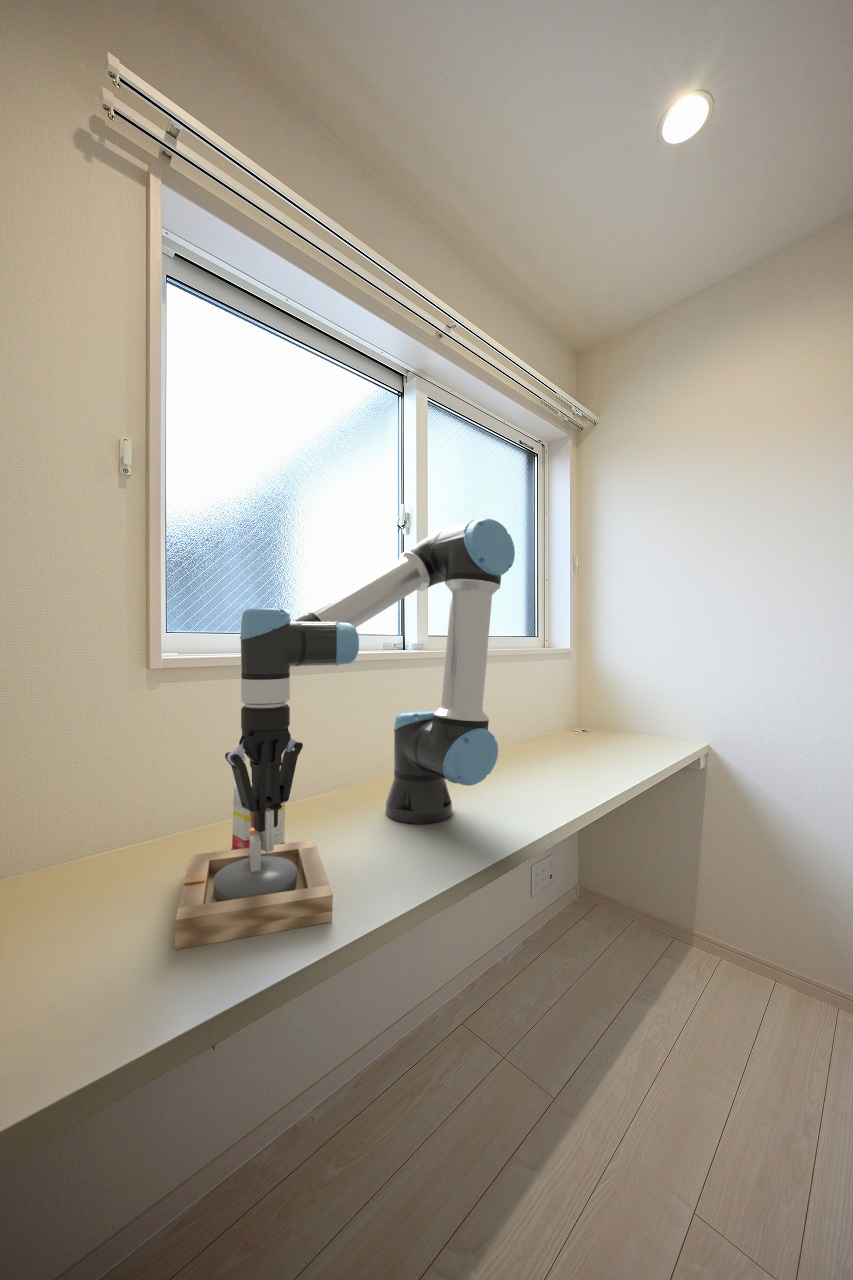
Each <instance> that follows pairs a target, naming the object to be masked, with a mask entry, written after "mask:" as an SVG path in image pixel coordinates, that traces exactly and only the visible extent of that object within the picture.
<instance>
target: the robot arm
mask: <svg viewBox="0 0 853 1280" xmlns="http://www.w3.org/2000/svg"><path fill="white" fill-rule="evenodd" d="M515 554H516V550H515V544H514V541H513V538H512V535H511V534H510V533H509V532H508V529H507V528H506V527H505V526H504V525H503V524H502V523H500V522H499V521H497V520H495V519H492V518H482V519H473V520H471V521H468V522H465V523H461V524H458V525H453V526H450V527H446V528H443V529H440V530H438V531H435V532H434V533H432V534H431V535H429V536H427V537H426V538H424V539H423V540H421V541H419V542H418V543H417V544H415V545H413V546H412V547H410V548H408V549H407V550H405V551H403V552H402V553H401V554H400V556H399V559H398V560H397V561H395V562H394V563H392V564H390V565H389V566H386V567H385V568H383V569H382V570H380V571H378V572H376V573H375V574H373V575H371V576H369V577H368V578H366V579H364V580H362V581H361V582H359V583H357V584H356V585H354V586H352V587H349V589H346V590H345V591H344V592H342V593H340V594H338V595H336V596H335V597H333V598H331V599H329V600H328V601H326V602H324V603H323V604H321V605H319V606H318V607H316V608H314V609H313V610H311V611H309V612H308V613H305V614H303V615H302V616H300V617H298V618H297V619H295V620H292V619H291V616H290V615H291V614H290V612H289V610H287V609H285V608H266V607H265V608H262V607H261V608H248V609H246V610H245V611H244V612H243V613H242V615H241V625H240V636H239V640H240V661H241V662H240V664H241V665H240V667H241V668H240V669H241V677H240V681H241V682H240V702H241V703H242V704H244V705H243V706H242V707H241V708H240V729H241V736H240V739H239V740H238V741H239V742H238V746H237V747H236V748H235V749H234V750H233V751H232V752H230V751H228V752H226V753H225V755H224V758H225V760H226V762H228V764H229V765H230V767H231V769H232V775H233V777H234V781H235V784H236V785H235V786H237V790H238V793H239V797H240V801H241V805H242V807H243V808H245V809H247V810H249V811H252V812H254V829H255V830H256V831H258V832H259V835H260V840H261V850H263V851H265V852H267V853H268V852H271V851H273V850H274V828H275V827H277V825H278V810H279V809H281V807H282V805H280V804H281V803H283V802H285V803H287V802H288V801H289V800H290V794H291V790H292V787H293V785H292V784H293V782H294V781H293V780H294V776H295V773H296V772H295V771H296V767H297V762H298V758H299V755H300V753H301V751H302V749H303V748H304V747H303V746H304V744H303V743H302V742H300V741H297V740H295V739H293V738H292V737H291V736H292V735H291V732H290V730H289V727H290V724H291V723H290V722H291V707H290V705H289V704H287V703H288V702H290V700H291V683H290V682H291V681H290V679H291V678H290V677H291V673H290V671H291V667H300V666H303V667H305V666H312V667H313V666H335V667H337V666H338V667H339V666H340V665H341V666H342V665H350V664H352V663H353V662H354V661H355V660H356V658H357V656H358V654H359V650H360V638H359V633H358V630H357V629H356V628H358V627H359V626H361V625H363V624H364V623H365V622H367V621H368V620H370V619H372V618H374V617H375V616H377V615H378V614H380V613H381V612H383V611H385V610H386V609H388V608H390V607H391V606H393V605H394V604H396V603H398V602H399V601H401V600H402V599H404V598H406V597H407V596H409V595H411V594H412V593H414V592H415V591H418V592H423V591H426V590H428V588H431V587H432V586H434V585H438V584H441V583H443V582H444V584H445V586H446V587H447V588H448V590H450V592H451V595H450V606H449V616H448V627H447V629H448V630H447V637H446V647H445V648H446V649H445V660H444V670H443V681H442V683H443V684H442V691H441V704H440V706H439V707H438V708H436V710H426V711H425V710H423V711H409V712H402V713H399V714H398V715H396V716H395V720H394V729H393V732H394V739H393V740H394V742H393V743H394V744H393V745H394V747H393V748H394V749H393V750H394V753H393V754H394V758H393V759H394V760H393V771H394V772H393V781H392V784H391V785H390V786H391V787H390V790H389V792H388V795H387V798H386V800H385V801H386V803H385V813H386V815H387V817H389V818H391V819H392V820H395V821H397V822H400V823H409V824H419V825H420V824H432V823H439V822H442V821H444V820H446V819H448V818H450V817H451V816H452V814H453V804H452V803H453V802H452V799H451V795H450V792H449V789H448V786H447V782H446V780H447V781H448V782H450V783H452V784H456V785H457V784H458V785H462V786H465V787H466V786H470V787H471V786H474V785H478V784H480V783H481V782H483V781H484V780H486V778H487V776H488V775H490V774H491V773H492V772H493V769H494V768H495V765H496V763H497V759H498V757H499V745H498V741H497V740H496V739H495V735H494V734H493V733H492V732H490V730H489V722H490V719H489V716H488V715H487V714H486V713H485V711H484V710H483V707H484V696H485V695H484V694H485V693H484V692H485V683H486V671H487V660H488V659H487V658H488V649H489V648H488V647H489V638H490V624H491V612H492V600H493V596H494V595H495V593H496V592H497V591H498V590H499V589H500V588H501V582H502V576H503V575H504V574H506V573H507V572H508V571H510V569H511V568H512V567H513V564H514V561H515V556H516V555H515ZM245 755H246V756H245ZM246 757H247V758H248V760H249V766H250V768H251V778H250V775H249V771H248V767H247V764H246V762H245V761H246ZM250 782H252V786H251V783H250Z"/></svg>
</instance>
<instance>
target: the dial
mask: <svg viewBox="0 0 853 1280" xmlns="http://www.w3.org/2000/svg"><path fill="white" fill-rule="evenodd" d="M296 883H297V868H296V865H295V864H294V863H293V862H292V861H290V860H287V859H285V858H281V857H274V856H261V840H260V835H259V832H258V831H256V830H255V829H254V828H250V849H249V858H247V859H243V860H239V861H236V862H233V863H231V864H229V865H227V866H225V867H223V868H222V869H221V870H219V871H218V872H217V873H216V875H215V877H214V884H213V894H214V898H215V899H216V900H217V901H218V902H221V901H228V900H234V899H241V898H247V897H254V896H260V895H267V894H273V893H280V892H286V891H293V890H294V888H295V887H296Z"/></svg>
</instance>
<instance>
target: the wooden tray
mask: <svg viewBox="0 0 853 1280" xmlns="http://www.w3.org/2000/svg"><path fill="white" fill-rule="evenodd" d="M249 849H250V848H245V849H236V850H235V849H231V850H230V849H228V850H221V851H214V852H212V851H211V852H204V853H196V854H190V857H189V861H188V864H187V868H186V873H185V877H184V881H183V882H184V883H183V886H182V889H181V890H182V891H181V894H180V898H179V902H178V903H179V904H178V907H177V911H176V915H175V920H174V951H176V950H183V949H186V948H188V949H189V948H193V947H199V946H204V945H209V944H214V943H215V944H216V943H220V942H221V943H222V942H227V941H232V940H237V939H244V938H248V937H254V936H259V935H260V936H261V935H265V934H271V933H272V934H273V933H276V932H282V931H288V930H289V931H290V930H293V929H295V930H296V929H298V928H306V927H310V926H317V925H321V924H328V923H332V922H333V913H334V912H333V910H334V909H333V906H334V905H333V901H334V898H333V897H334V896H333V892H332V888H331V885H330V882H329V880H328V879H329V878H328V877H327V874H326V872H325V871H326V870H325V868H324V865H323V862H322V860H321V859H322V858H321V856H320V853H319V851H318V848H317V844H316V842H315V839H312V840H305V841H302V840H301V841H295V842H287V843H281V844H277V845H274V850H273V851H271V852H268V853H267V852H265V851H263V850H261V856H274V857H281V858H285V859H287V860H290V861H292V862H293V863H294V864H295V865H296V868H297V883H296V887H295V888H294V890H293V891H286V892H280V893H273V894H267V895H260V896H254V897H247V898H241V899H234V900H228V901H221V902H218V901H217V900H216V899H215V898H214V894H213V884H214V877H215V875H216V873H217V872H218V871H219V870H221V869H222V868H223V867H225V866H227V865H229V864H231V863H233V862H236V861H239V860H243V859H247V858H249Z"/></svg>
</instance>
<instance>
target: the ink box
mask: <svg viewBox="0 0 853 1280" xmlns="http://www.w3.org/2000/svg"><path fill="white" fill-rule="evenodd" d="M250 783H251V786H252V781H250ZM232 802H233V804H232V805H233V806H232V807H233V808H232V811H233V812H232V838H231V839H232V840H231V841H232V842H231V843H232V844H231V849H232V850H236V849H245V848H250V828H254V812H252V811H249V810H247V809H245V808H243V807H242V805H241V801H240V797H239V793H238V790H237V786H236V785H235V786H233V801H232ZM280 805H282V807H281V809H279V810H278V825H277V827H275V828H274V845H277V844H285V838H286V836H285V835H286V802H283V803H281V804H280Z"/></svg>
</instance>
